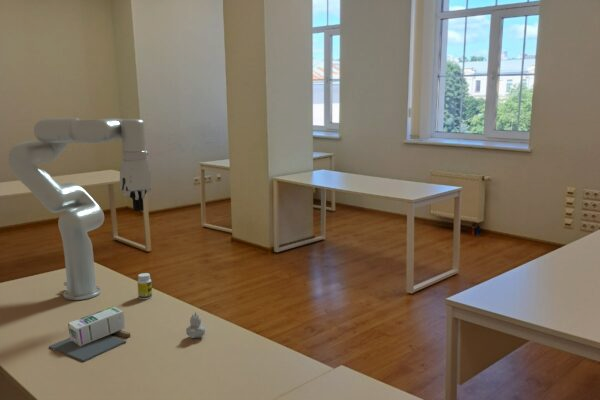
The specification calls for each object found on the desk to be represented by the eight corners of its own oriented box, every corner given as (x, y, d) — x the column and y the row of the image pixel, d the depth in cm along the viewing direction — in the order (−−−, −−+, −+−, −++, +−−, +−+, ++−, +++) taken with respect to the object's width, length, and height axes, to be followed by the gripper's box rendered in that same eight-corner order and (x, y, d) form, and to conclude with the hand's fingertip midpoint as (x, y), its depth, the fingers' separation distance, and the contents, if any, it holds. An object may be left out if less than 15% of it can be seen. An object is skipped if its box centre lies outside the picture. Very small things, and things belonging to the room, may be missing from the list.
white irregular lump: (208, 334, 164) (207, 308, 163) (199, 343, 158) (198, 317, 156) (191, 332, 166) (190, 307, 164) (182, 342, 159) (180, 316, 158)
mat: (48, 347, 157) (48, 346, 156) (91, 330, 168) (91, 328, 168) (83, 362, 148) (83, 360, 148) (126, 342, 159) (125, 340, 159)
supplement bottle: (150, 299, 193) (148, 276, 191) (136, 299, 193) (135, 277, 191) (154, 295, 198) (152, 272, 196) (140, 295, 198) (139, 272, 196)
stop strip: (101, 329, 169) (101, 325, 169) (104, 328, 170) (104, 324, 169) (127, 338, 162) (127, 334, 162) (130, 336, 163) (130, 333, 163)
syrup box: (123, 310, 165) (76, 327, 154) (125, 329, 166) (78, 347, 156) (113, 305, 168) (67, 322, 158) (116, 323, 170) (69, 341, 160)
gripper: (145, 153, 191) (148, 205, 195) (108, 158, 179) (112, 213, 182) (159, 155, 187) (163, 207, 190) (123, 159, 175) (127, 215, 178)
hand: (138, 210), depth 186 cm, fingers closed
